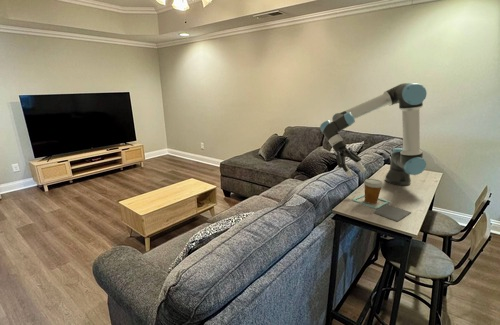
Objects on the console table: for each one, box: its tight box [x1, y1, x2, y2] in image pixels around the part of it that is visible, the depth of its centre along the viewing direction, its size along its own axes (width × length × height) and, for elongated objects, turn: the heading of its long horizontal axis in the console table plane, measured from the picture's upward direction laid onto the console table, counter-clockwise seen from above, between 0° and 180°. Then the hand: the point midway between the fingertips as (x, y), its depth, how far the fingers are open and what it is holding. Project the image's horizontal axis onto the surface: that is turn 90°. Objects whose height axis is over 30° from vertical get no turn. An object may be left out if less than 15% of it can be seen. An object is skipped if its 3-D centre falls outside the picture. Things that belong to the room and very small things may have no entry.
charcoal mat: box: [372, 203, 412, 223], centre depth 134 cm, size 15×12×1 cm
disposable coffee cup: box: [363, 178, 383, 205], centre depth 146 cm, size 10×10×12 cm
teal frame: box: [351, 193, 391, 210], centre depth 148 cm, size 14×14×1 cm
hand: (357, 173), depth 151 cm, fingers open, 13 cm apart
